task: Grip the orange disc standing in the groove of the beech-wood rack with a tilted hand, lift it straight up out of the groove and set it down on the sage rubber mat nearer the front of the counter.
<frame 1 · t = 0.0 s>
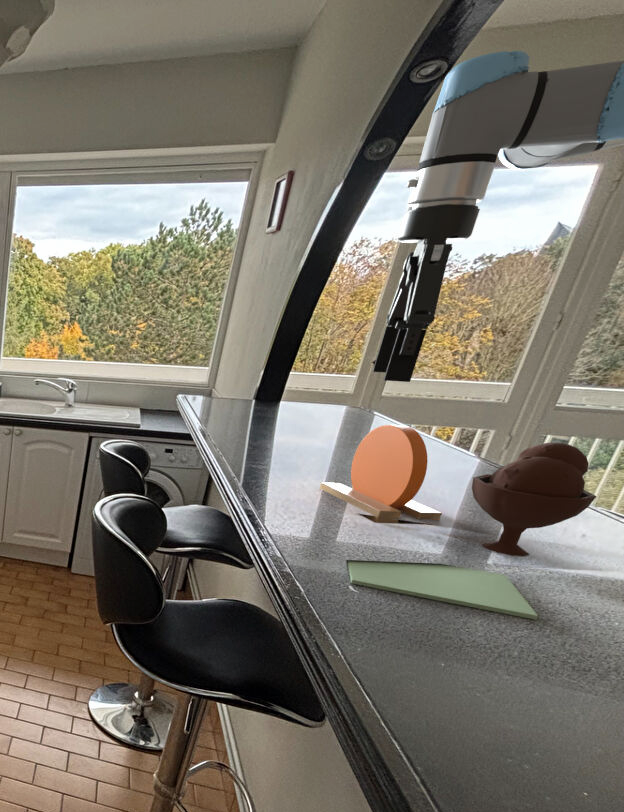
hand: (389, 376, 84), 21 cm above the countertop, tool pointing down, fingers open, 13 cm apart
orange disc: (373, 507, 94), point 1 cm above the countertop, touching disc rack
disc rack: (372, 512, 94), on the countertop
ice cream bowl: (502, 555, 78), on the countertop
sage mat: (428, 581, 70), on the countertop
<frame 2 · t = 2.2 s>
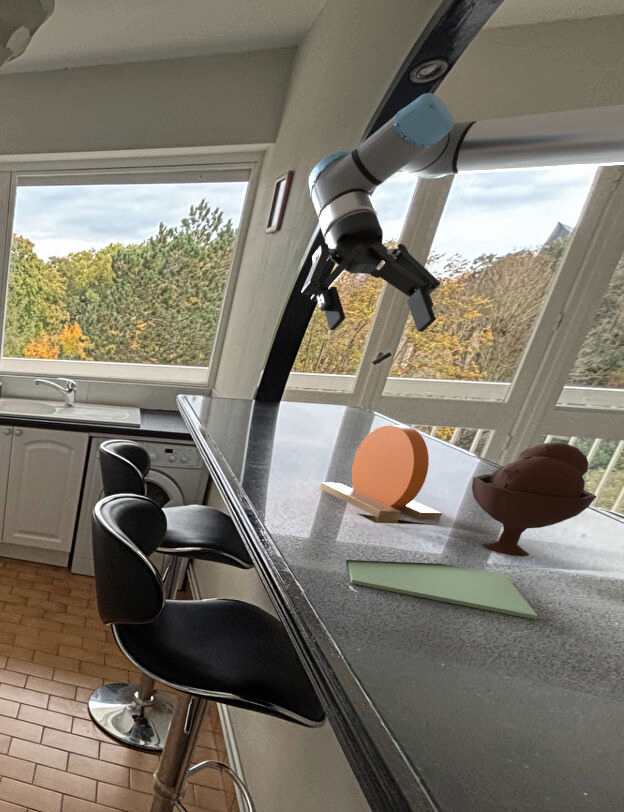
hand: (382, 325, 93), 28 cm above the countertop, tool tilted 45°, fingers open, 13 cm apart
nothing on the countertop moved.
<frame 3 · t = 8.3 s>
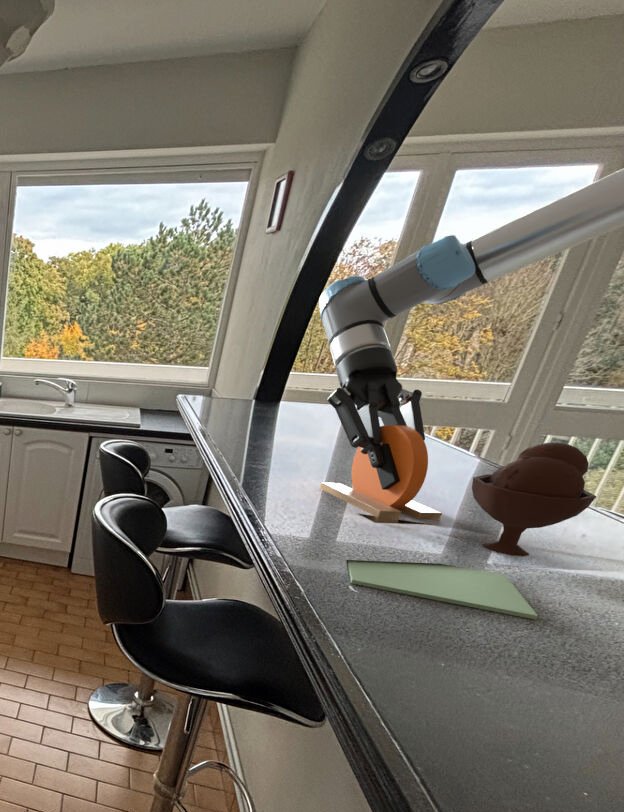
hand: (400, 485, 88), 6 cm above the countertop, tool tilted 45°, fingers closed on orange disc, 2 cm apart
orange disc: (373, 507, 94), point 1 cm above the countertop, touching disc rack, gripper
everything else where it was.
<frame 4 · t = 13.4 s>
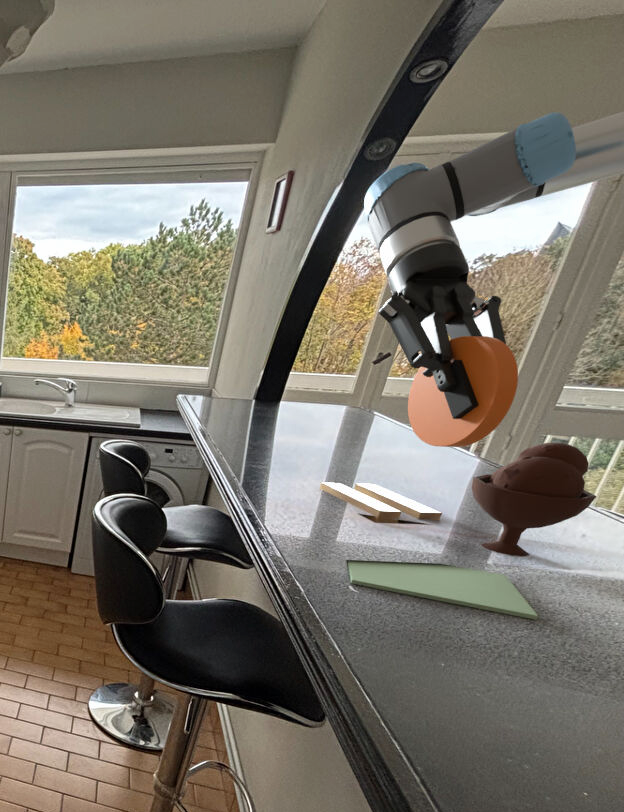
hand: (478, 412, 69), 19 cm above the countertop, tool tilted 45°, fingers closed on orange disc, 2 cm apart
orange disc: (438, 445, 74), point 14 cm above the countertop, touching gripper
everything else where it was.
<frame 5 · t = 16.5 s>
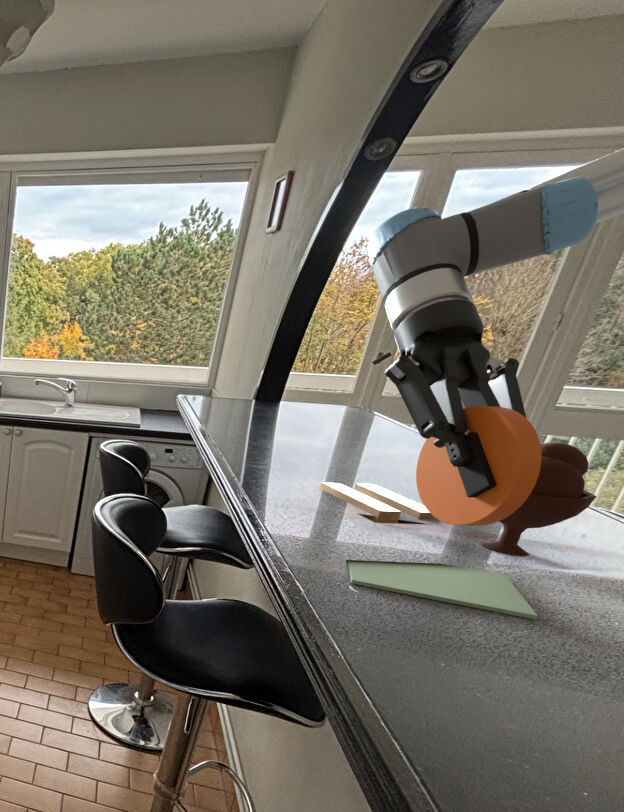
hand: (495, 491, 62), 12 cm above the countertop, tool tilted 45°, fingers closed on orange disc, 2 cm apart
orange disc: (450, 521, 67), point 8 cm above the countertop, touching gripper
everything else where it was.
when the fingers open (5 cm above the countertop, at t = 18.6 s): orange disc stays where it is, resting on sage mat.
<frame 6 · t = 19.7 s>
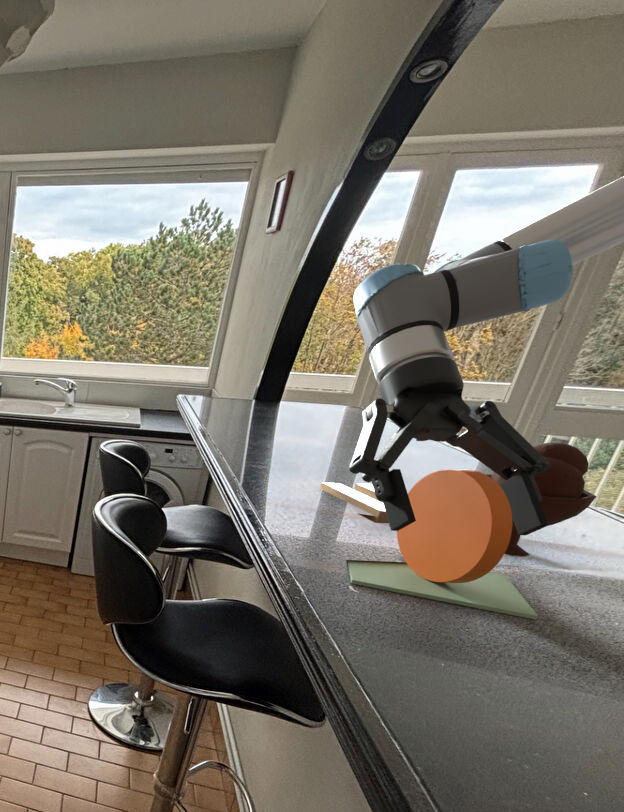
hand: (468, 528, 65), 8 cm above the countertop, tool tilted 45°, fingers open, 13 cm apart
orange disc: (429, 577, 70), point 1 cm above the countertop, touching sage mat
everything else where it was.
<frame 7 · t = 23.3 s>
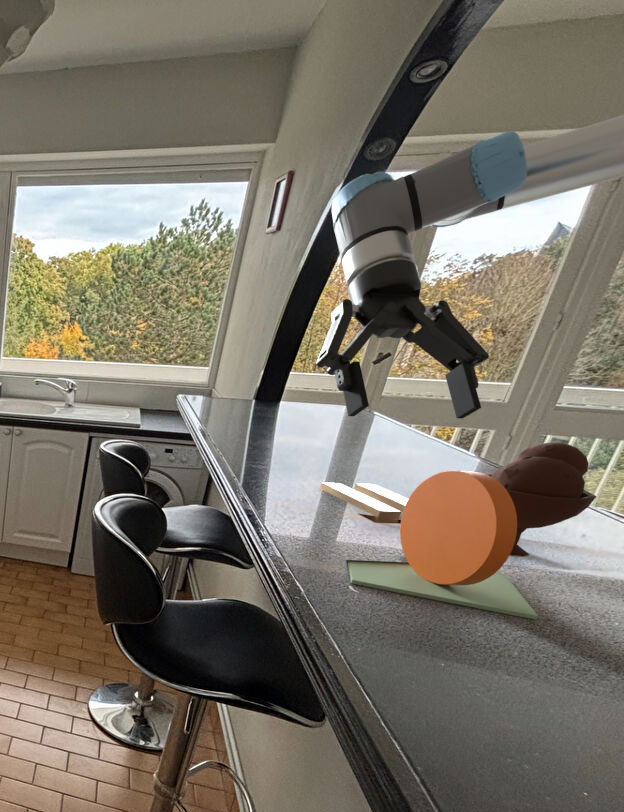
hand: (413, 412, 75), 18 cm above the countertop, tool tilted 40°, fingers open, 13 cm apart
orange disc: (429, 576, 70), point 1 cm above the countertop, tilted 6°, touching sage mat
everything else where it was.
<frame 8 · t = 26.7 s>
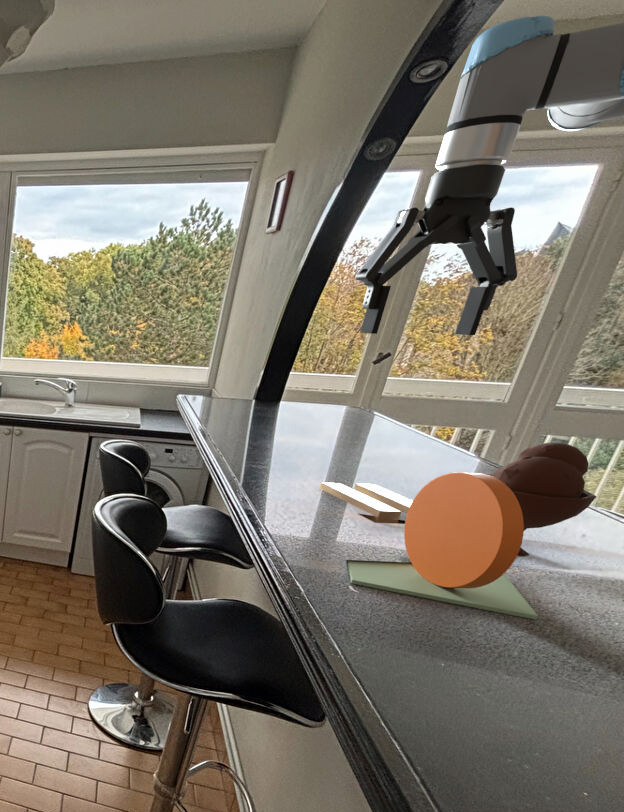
hand: (416, 334, 88), 27 cm above the countertop, tool pointing down, fingers open, 13 cm apart
orange disc: (429, 575, 70), point 1 cm above the countertop, tilted 12°, touching sage mat
everything else where it was.
at the end: orange disc inside the target area on the sage mat (0.1 cm from its centre), point 0.7 cm above the sage mat's base; orange disc touching sage mat; the gripper is holding nothing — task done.
